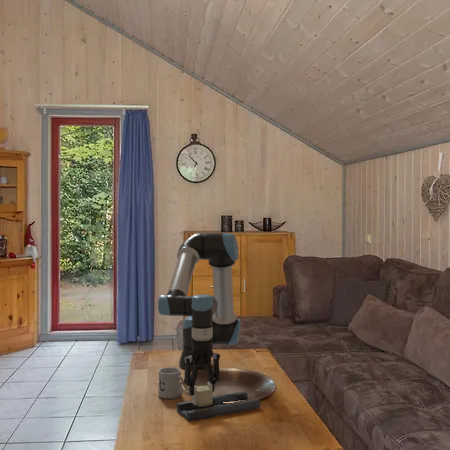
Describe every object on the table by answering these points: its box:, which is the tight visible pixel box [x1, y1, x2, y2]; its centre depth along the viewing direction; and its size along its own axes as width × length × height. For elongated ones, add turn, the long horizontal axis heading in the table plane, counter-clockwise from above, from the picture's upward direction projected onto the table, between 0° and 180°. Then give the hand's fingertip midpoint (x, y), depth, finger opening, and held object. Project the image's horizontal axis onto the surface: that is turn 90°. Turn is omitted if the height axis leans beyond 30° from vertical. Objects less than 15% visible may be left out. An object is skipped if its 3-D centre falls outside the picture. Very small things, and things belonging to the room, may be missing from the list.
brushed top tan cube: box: [196, 384, 213, 407], centre depth 203 cm, size 6×6×6 cm
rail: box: [176, 390, 261, 422], centre depth 207 cm, size 11×28×3 cm, turn 118°
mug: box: [157, 366, 184, 400], centre depth 220 cm, size 12×9×10 cm
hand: (202, 402), depth 203 cm, fingers closed on brushed top tan cube, 5 cm apart
